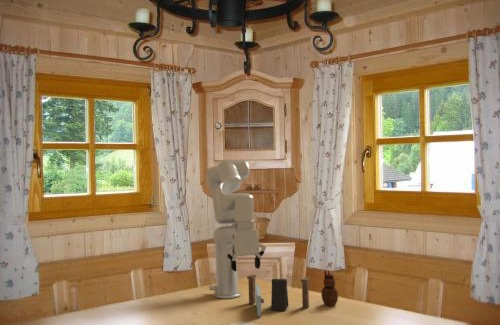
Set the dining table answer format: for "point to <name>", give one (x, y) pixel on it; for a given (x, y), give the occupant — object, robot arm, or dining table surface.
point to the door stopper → (279, 295)
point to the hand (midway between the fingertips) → (245, 269)
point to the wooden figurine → (329, 290)
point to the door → (258, 300)
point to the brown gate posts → (304, 291)
